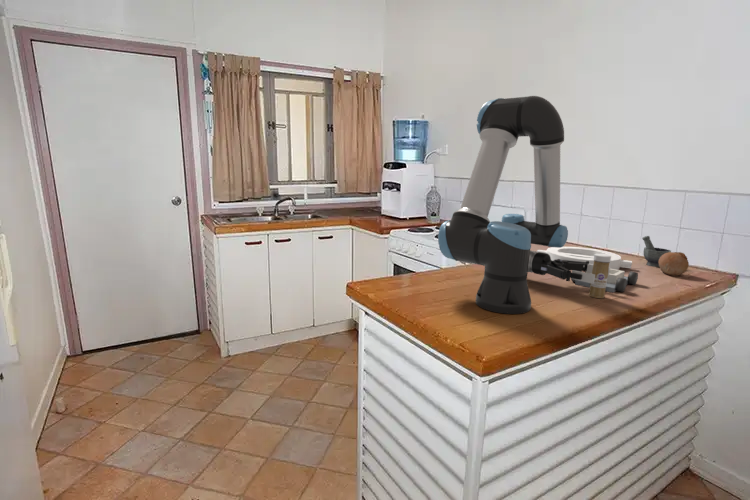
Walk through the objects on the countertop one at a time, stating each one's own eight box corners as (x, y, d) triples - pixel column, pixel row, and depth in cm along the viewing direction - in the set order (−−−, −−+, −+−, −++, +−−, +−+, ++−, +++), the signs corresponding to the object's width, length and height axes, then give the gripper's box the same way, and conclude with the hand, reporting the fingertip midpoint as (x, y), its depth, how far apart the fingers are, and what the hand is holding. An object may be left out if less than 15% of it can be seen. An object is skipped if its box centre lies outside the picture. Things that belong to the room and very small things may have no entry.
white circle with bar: (532, 257, 186) (533, 247, 185) (585, 256, 192) (586, 245, 191) (576, 273, 159) (577, 261, 158) (636, 271, 166) (637, 259, 165)
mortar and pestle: (672, 266, 174) (677, 238, 172) (663, 269, 169) (668, 240, 166) (643, 261, 183) (647, 234, 181) (633, 263, 178) (638, 235, 175)
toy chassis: (619, 294, 133) (622, 280, 132) (569, 282, 145) (570, 270, 144) (637, 283, 147) (639, 270, 146) (590, 273, 158) (591, 262, 157)
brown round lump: (680, 282, 161) (699, 261, 157) (670, 279, 155) (689, 257, 152) (658, 268, 168) (675, 248, 164) (648, 265, 162) (666, 243, 159)
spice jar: (592, 298, 128) (598, 255, 125) (586, 293, 132) (591, 252, 130) (607, 299, 128) (614, 256, 125) (600, 294, 132) (606, 253, 129)
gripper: (549, 267, 153) (612, 280, 138) (517, 279, 136) (585, 294, 121) (551, 247, 151) (616, 258, 137) (519, 256, 134) (589, 269, 120)
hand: (602, 275), depth 129 cm, fingers open, 13 cm apart
